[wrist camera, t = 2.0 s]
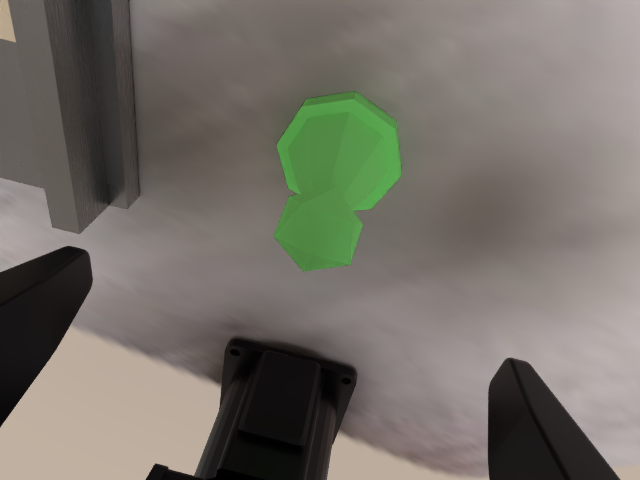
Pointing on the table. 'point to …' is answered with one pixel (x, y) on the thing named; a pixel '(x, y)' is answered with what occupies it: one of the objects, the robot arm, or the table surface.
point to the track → (69, 105)
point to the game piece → (334, 176)
